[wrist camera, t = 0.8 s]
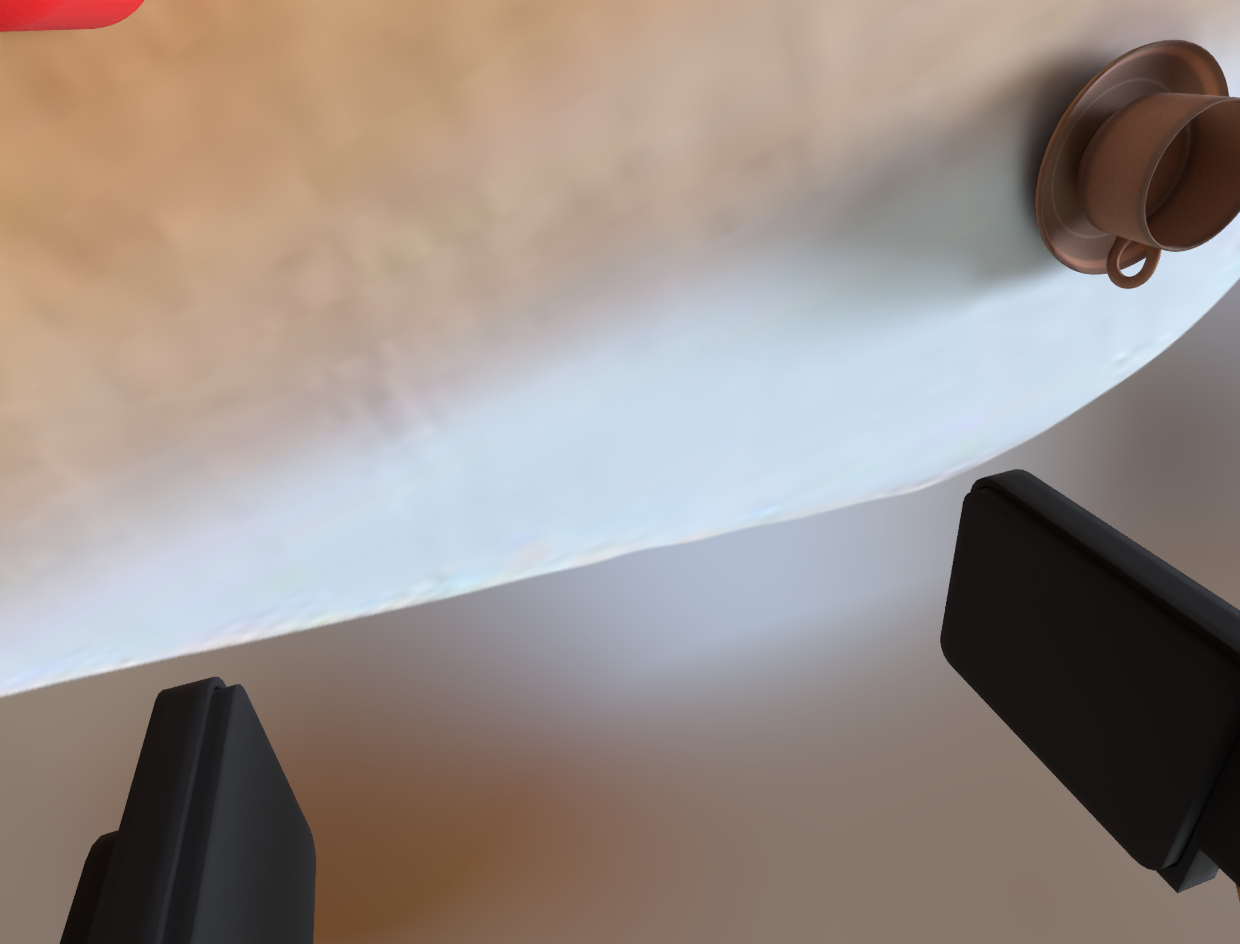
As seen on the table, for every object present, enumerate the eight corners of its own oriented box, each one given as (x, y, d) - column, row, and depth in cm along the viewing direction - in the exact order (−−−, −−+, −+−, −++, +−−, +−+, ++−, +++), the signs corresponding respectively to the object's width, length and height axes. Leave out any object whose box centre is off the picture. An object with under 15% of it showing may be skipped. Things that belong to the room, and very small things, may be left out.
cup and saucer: (1183, 226, 48) (1282, 250, 43) (1013, 294, 47) (1094, 327, 42) (1213, 8, 42) (1333, 6, 37) (1017, 81, 41) (1113, 89, 35)
